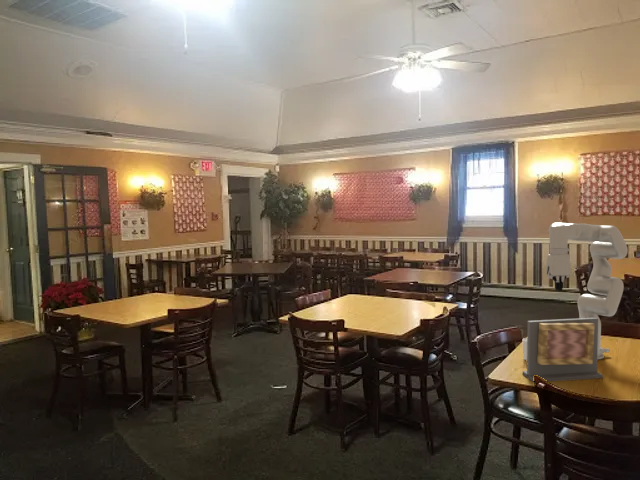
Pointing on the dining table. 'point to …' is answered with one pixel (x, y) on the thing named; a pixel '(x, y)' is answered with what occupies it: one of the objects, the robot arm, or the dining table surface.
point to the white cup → (524, 348)
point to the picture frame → (565, 343)
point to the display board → (566, 369)
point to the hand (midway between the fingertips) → (558, 290)
